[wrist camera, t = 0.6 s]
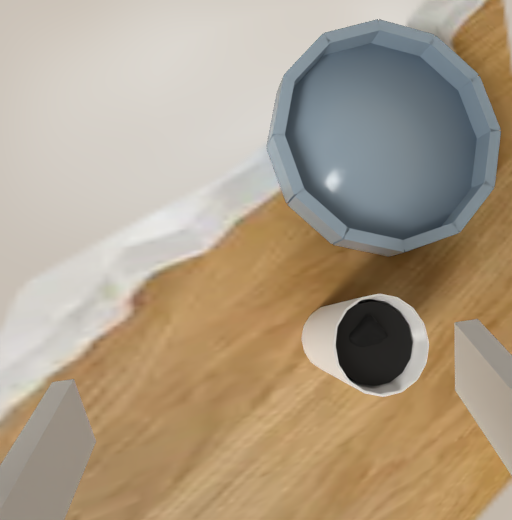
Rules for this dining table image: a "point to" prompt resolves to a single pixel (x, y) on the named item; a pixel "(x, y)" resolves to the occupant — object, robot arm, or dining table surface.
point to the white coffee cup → (368, 343)
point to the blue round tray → (383, 138)
